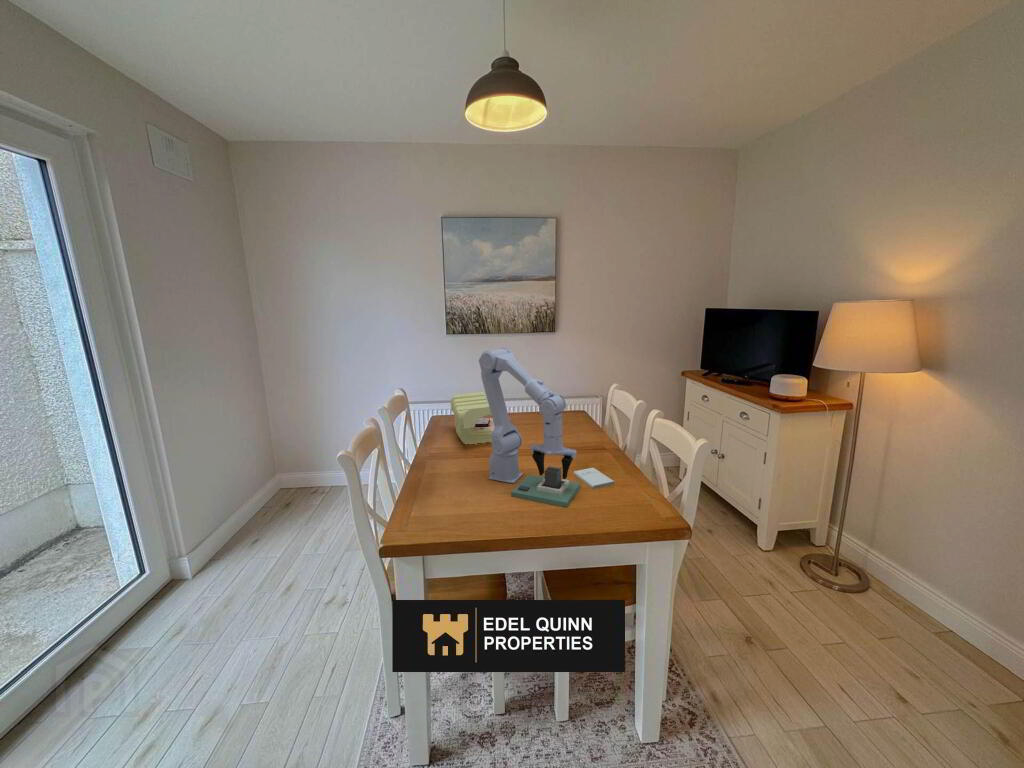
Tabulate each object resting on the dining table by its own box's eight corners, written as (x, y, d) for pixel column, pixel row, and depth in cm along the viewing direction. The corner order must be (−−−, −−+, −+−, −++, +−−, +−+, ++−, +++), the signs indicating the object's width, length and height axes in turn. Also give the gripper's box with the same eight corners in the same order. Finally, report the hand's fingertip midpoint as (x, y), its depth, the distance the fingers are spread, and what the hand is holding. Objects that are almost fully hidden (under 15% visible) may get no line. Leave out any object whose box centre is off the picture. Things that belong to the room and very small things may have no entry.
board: (511, 496, 124) (510, 488, 124) (529, 478, 137) (528, 470, 136) (566, 507, 117) (566, 498, 116) (580, 487, 129) (580, 479, 128)
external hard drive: (592, 490, 128) (573, 475, 139) (614, 485, 131) (593, 471, 142) (592, 485, 127) (573, 471, 139) (614, 481, 130) (593, 466, 142)
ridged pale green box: (452, 431, 190) (450, 394, 186) (485, 427, 195) (483, 391, 191) (465, 453, 162) (462, 410, 158) (503, 447, 167) (501, 406, 163)
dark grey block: (544, 488, 125) (544, 470, 124) (549, 483, 129) (549, 465, 127) (557, 491, 123) (556, 472, 122) (561, 485, 127) (561, 467, 126)
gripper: (525, 435, 123) (526, 477, 125) (571, 441, 116) (571, 485, 119) (534, 428, 129) (535, 468, 131) (578, 434, 122) (578, 475, 125)
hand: (553, 476), depth 126 cm, fingers open, 7 cm apart
